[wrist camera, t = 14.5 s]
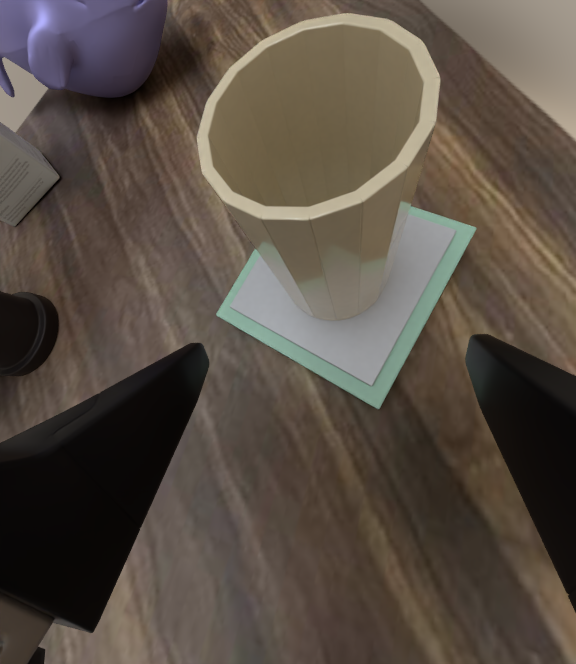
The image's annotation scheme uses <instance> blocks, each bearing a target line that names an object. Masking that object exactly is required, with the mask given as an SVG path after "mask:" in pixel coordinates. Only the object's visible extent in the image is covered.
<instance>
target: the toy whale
mask: <svg viewBox="0 0 576 664" xmlns="http://www.w3.org/2000/svg"><path fill="white" fill-rule="evenodd" d="M166 13H167V0H0V85H1V87H2V88H3V90H4V91H5V92H6V93H7V94H8V95H9V96H11V97H14V89H13V86H12V84H11V82H10V79H9V77H8V75H7V73H6V71H5V69H4V65H3V62H2V58H3V57H5V58H7V59H9V60H10V61H12V62H14V63H15V64H17V65H18V66H20V67H21V68H23V69H24V70H26V71H28V72H29V73H31V74H33V75H34V77H35V78H36V79H37V80H38V81H39V82H41V83H42V84H43V85H45V86H46V87H48V88H49V89H55V90H63V89H65V88H66V89H68V90H71V91H74V92H78V93H82V94H86V95H91V96H97V97H106V98H114V97H121V96H125V95H128V94H130V93H132V92H134V91H135V90H137V89H138V88H139V87H140V86H141V85H142V84H143V83H144V82H145V81H146V79H147V78H148V77H149V75H150V73H151V71H152V69H153V67H154V64H155V62H156V59H157V56H158V52H159V48H160V44H161V38H162V33H163V28H164V23H165V19H166Z"/></svg>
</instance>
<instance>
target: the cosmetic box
mask: <svg viewBox="0 0 576 664" xmlns="http://www.w3.org/2000/svg"><path fill="white" fill-rule="evenodd" d="M59 178H60V177H59V175H58V174H57V172H56V171H55V170H54V169H53V167H52V166H51V165H50V163H49V162H48V161H47V160H46V158H45V157H44V156H43V155H42V153H41V152H40V151H39V150H38V149H37V148H35V147H34V146H33V145H31V144H30V143H28V142H27V141H26V140H24V139H23V138H22V137H20V136H19V135H17V134H16V133H15V132H13V131H12V130H10V129H9V128H8V127H6V126H5V125H3V124H2V123H1V122H0V221H2V222H5V223H7V224H9V225H11V226H14V227H15V226H16V225H17V224H18V223H19V221H20V220H21V219H22V218H23V217H24V216H25V215H26V214H27V213H28V212H29V211H30V210H31V208H32V207H33V206H34V205H35V204H36V203H37V202H38V201H39V200H40V199H41V198H42V196H43V195H44V194H45V193H46V192H47V191H48V190H49V189H50V188H51V187H52V186H53V185H54V183H55V182H56V181H57V180H58V179H59Z"/></svg>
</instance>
